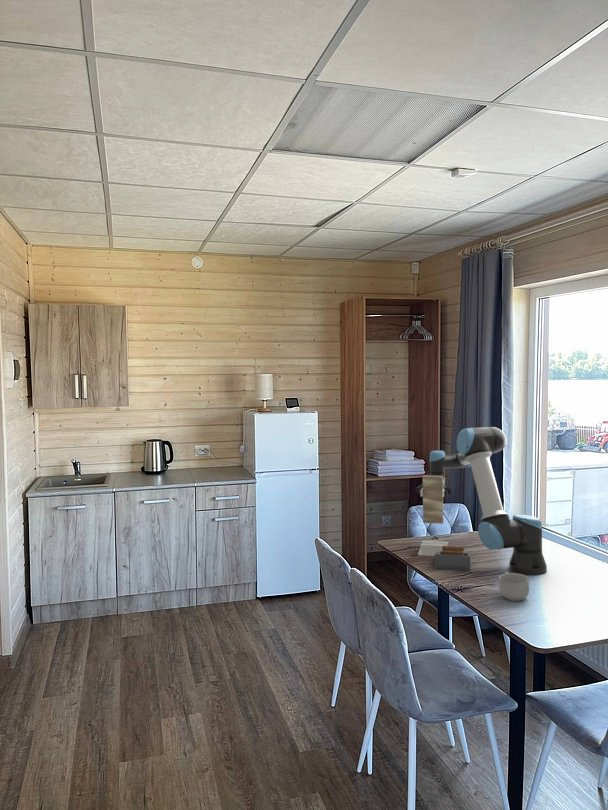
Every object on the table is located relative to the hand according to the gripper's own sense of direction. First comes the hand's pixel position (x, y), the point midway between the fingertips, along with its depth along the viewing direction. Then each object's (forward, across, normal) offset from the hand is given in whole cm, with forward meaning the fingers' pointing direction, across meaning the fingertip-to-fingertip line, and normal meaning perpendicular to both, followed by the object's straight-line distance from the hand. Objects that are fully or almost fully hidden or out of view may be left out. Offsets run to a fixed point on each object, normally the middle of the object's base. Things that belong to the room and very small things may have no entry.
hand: (432, 493), depth 277 cm
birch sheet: (-5, 0, -14) cm, 15 cm away
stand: (-4, 0, -30) cm, 30 cm away
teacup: (+42, -33, -30) cm, 62 cm away
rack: (+12, -10, -30) cm, 34 cm away
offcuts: (+14, -10, -29) cm, 33 cm away
